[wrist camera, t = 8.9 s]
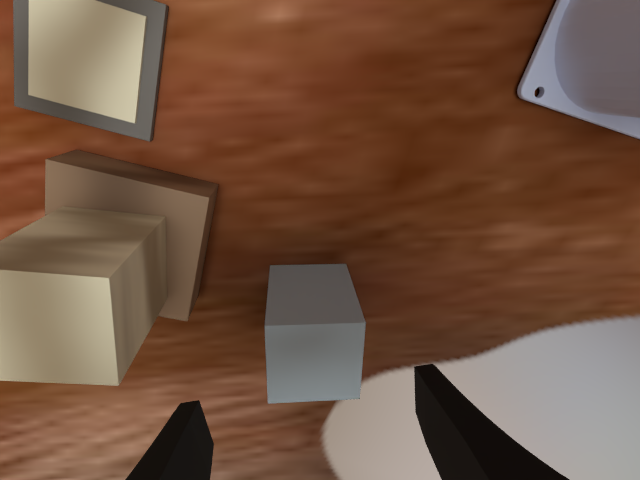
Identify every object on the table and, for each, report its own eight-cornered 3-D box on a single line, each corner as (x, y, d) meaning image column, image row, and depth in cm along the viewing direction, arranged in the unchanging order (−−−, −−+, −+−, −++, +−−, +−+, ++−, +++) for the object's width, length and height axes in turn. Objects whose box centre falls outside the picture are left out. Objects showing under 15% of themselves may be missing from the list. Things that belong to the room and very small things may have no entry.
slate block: (346, 263, 22) (365, 322, 17) (342, 326, 24) (359, 398, 18) (270, 265, 22) (264, 325, 16) (272, 328, 24) (268, 403, 18)
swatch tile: (168, 6, 17) (164, 3, 16) (152, 140, 19) (148, 141, 18) (19, -43, 15) (9, -48, 15) (20, 105, 18) (11, 106, 17)
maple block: (165, 216, 18) (109, 278, 12) (167, 298, 19) (118, 385, 14) (62, 206, 17) (-46, 266, 11) (73, 291, 19) (-16, 379, 13)
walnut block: (219, 182, 20) (209, 197, 17) (199, 292, 23) (187, 321, 20) (80, 148, 19) (45, 159, 16) (75, 268, 21) (44, 295, 19)
